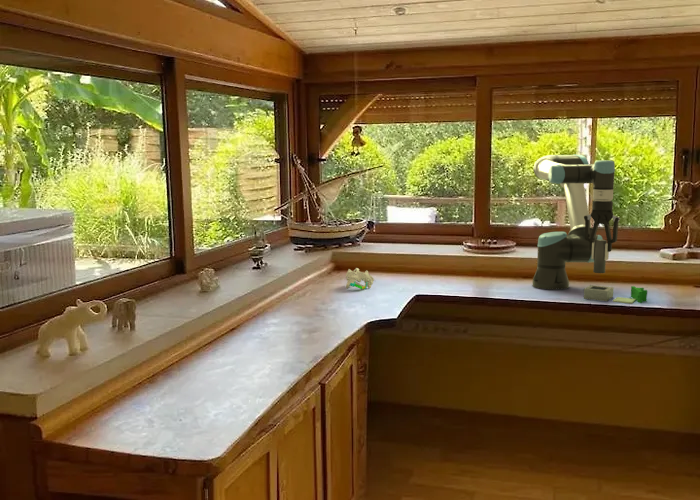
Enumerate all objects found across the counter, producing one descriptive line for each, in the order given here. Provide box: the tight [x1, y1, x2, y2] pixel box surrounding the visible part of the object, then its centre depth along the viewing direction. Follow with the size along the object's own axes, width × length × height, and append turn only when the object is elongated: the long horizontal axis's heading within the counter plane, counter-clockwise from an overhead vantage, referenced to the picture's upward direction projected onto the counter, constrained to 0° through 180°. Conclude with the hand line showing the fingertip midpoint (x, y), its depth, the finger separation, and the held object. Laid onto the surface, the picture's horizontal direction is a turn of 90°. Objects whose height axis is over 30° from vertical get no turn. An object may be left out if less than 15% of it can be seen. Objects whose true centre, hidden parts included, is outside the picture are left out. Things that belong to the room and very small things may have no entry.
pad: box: [612, 296, 637, 305], centre depth 275 cm, size 7×7×1 cm
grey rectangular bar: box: [593, 239, 607, 274], centre depth 279 cm, size 4×4×13 cm
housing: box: [583, 284, 614, 302], centre depth 281 cm, size 9×9×4 cm
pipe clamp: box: [630, 285, 648, 304], centre depth 277 cm, size 11×4×5 cm, turn 174°
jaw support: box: [345, 267, 375, 290], centre depth 302 cm, size 12×9×10 cm
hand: (599, 259), depth 279 cm, fingers closed on grey rectangular bar, 4 cm apart
